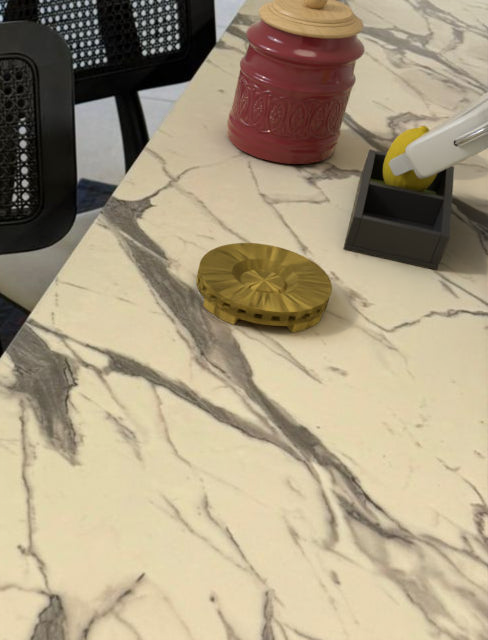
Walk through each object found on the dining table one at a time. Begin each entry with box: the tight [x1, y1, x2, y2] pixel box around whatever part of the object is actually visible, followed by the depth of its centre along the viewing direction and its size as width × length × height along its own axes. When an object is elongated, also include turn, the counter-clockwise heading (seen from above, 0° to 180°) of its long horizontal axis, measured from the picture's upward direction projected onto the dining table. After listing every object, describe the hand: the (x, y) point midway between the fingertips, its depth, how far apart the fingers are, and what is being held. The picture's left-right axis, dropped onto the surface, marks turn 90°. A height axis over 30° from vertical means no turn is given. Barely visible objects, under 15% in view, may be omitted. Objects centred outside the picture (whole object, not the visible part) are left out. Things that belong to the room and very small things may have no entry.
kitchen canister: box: [226, 0, 366, 165], centre depth 115 cm, size 13×13×18 cm
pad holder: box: [343, 149, 455, 271], centre depth 106 cm, size 9×17×4 cm, turn 160°
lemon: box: [383, 125, 437, 192], centre depth 107 cm, size 6×6×8 cm
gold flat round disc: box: [195, 242, 333, 333], centre depth 93 cm, size 12×12×2 cm
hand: (408, 158), depth 107 cm, fingers closed on lemon, 5 cm apart
